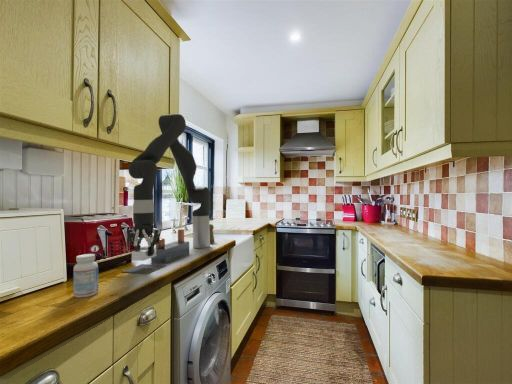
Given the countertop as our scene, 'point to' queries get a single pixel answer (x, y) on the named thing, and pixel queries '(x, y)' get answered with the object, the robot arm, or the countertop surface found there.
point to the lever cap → (142, 254)
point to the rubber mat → (143, 269)
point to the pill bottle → (85, 276)
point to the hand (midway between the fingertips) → (144, 255)
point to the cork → (211, 233)
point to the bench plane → (171, 250)
